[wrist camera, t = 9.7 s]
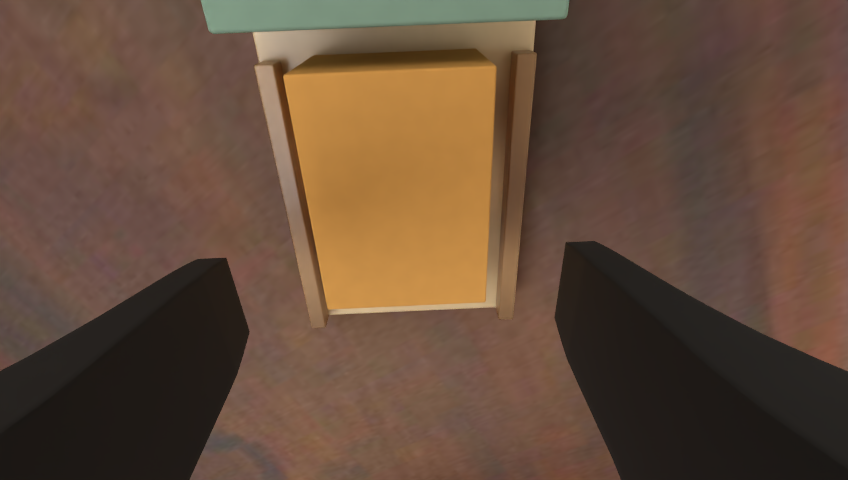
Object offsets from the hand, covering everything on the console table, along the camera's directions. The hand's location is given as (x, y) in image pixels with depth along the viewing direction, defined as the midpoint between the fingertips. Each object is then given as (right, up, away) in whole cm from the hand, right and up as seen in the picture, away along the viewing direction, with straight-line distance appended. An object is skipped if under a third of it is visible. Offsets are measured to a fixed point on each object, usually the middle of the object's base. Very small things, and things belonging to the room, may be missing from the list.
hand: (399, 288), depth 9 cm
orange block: (0, +4, +5) cm, 7 cm away
